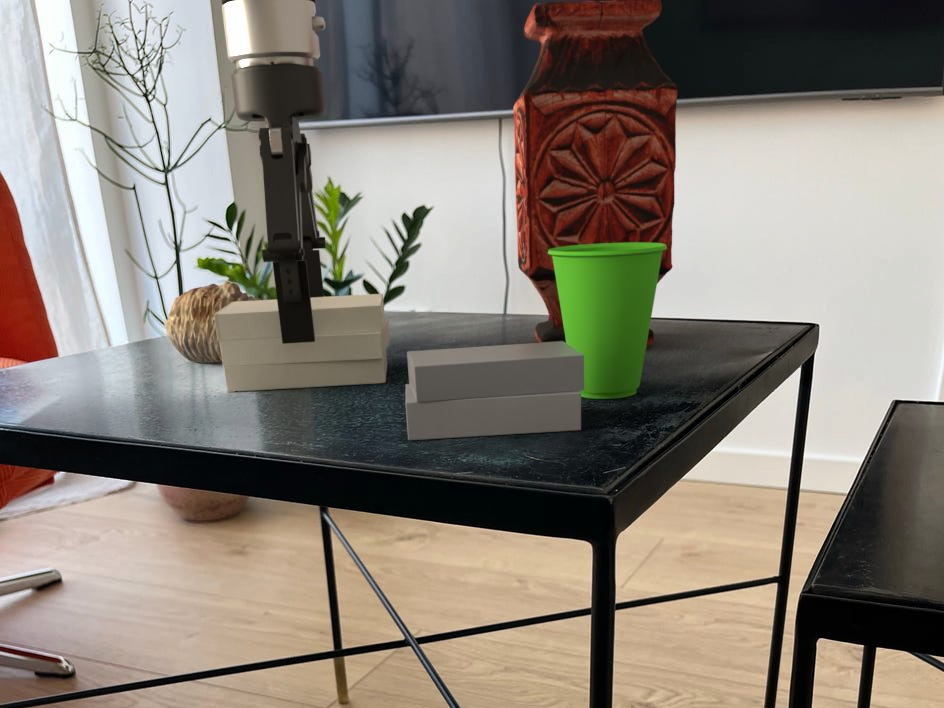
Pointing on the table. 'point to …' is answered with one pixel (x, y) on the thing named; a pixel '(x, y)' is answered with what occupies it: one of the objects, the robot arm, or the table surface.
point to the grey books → (494, 390)
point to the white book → (326, 314)
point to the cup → (608, 310)
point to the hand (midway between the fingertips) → (306, 331)
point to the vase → (592, 140)
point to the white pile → (306, 361)
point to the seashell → (200, 320)
